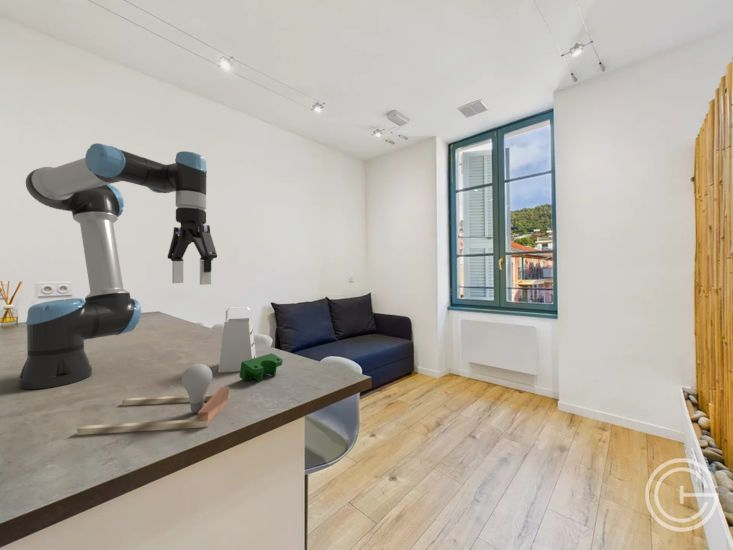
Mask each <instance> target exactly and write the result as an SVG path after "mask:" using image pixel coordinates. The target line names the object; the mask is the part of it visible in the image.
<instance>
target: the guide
mask: <svg viewBox="0 0 733 550" xmlns="http://www.w3.org/2000/svg"><path fill="white" fill-rule="evenodd" d="M229 400H230V386H221V387H219V389H218V390H217V391H216V392H214V393H211V394H205V400H204V402H206V403H205V404H204V406H203V408H202V409H201V410H200V411H199V412H198V413H197V419H178V420H176V419H175V420H161V421H146V422H145V421H144V422H125V423H113V424H112V423H108V424H93V425H82V426H80V427H78V428H77V436H85V435H102V434H117V433H134V432H148V431H149V432H150V431H165V430H180V429H181V430H182V429H184V430H185V429H197V428H198V429H199V428H209V426H210V425H211V423H212V422H213V421H214V419H215V418H216V417H217V415H218V414H219V413H220V411H221V410H222V409H223V407H224V406H225V405H226V404H227V402H228V401H229ZM121 401H122V402H121V403H122V404H121V405H122V406H140V405H159V404H161V405H163V404H177V403H179V404H181V403H190V402H189V395H171V396H151V397H150V396H149V397H128V398H126V397H124V399H122V400H121Z"/></svg>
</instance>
